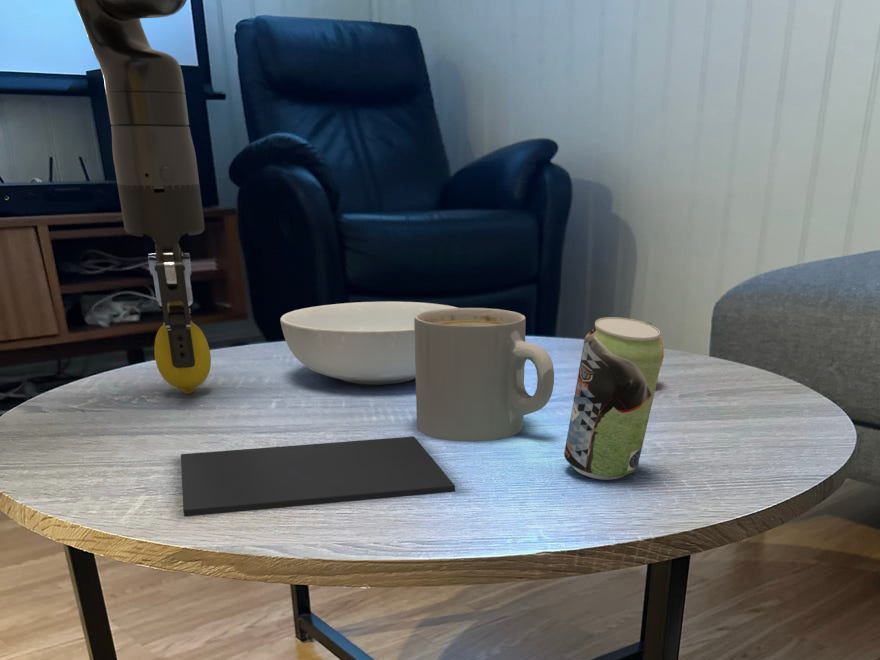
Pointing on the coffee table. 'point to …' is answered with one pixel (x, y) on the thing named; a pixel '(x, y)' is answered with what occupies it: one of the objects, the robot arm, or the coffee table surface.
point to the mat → (308, 475)
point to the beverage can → (613, 397)
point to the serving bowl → (357, 340)
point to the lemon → (183, 376)
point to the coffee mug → (476, 373)
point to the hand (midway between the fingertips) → (183, 360)
